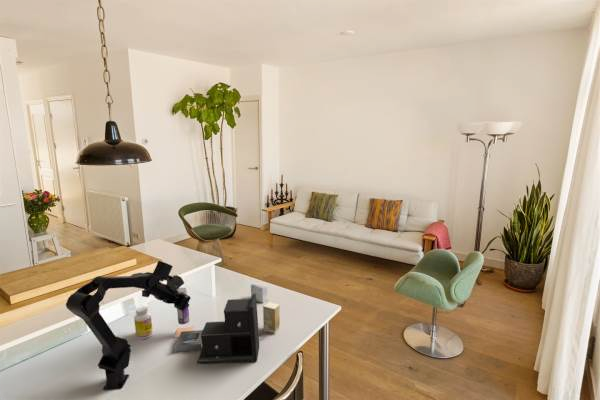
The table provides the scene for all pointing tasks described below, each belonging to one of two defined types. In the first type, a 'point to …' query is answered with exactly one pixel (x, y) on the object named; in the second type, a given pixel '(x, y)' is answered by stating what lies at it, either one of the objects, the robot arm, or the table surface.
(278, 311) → the skincare box
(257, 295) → the medicine box
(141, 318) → the supplement bottle
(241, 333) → the black drawer cabinet
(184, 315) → the container
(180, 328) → the mat
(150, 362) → the table surface
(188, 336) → the steel collar
